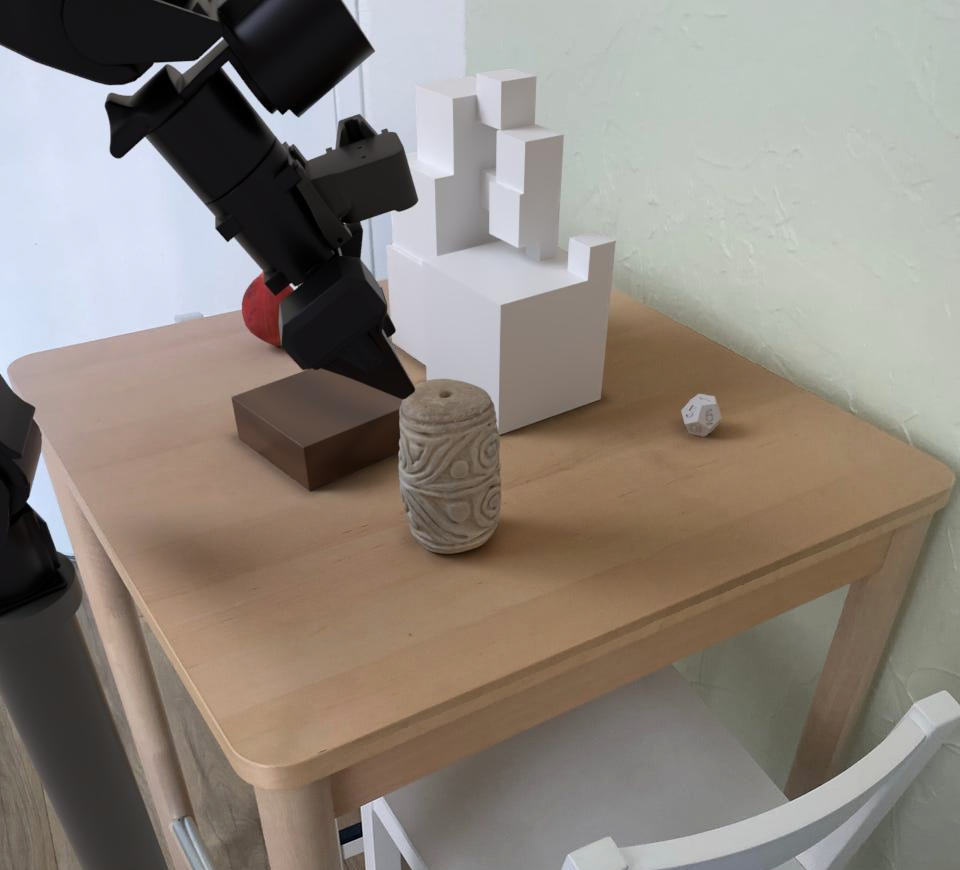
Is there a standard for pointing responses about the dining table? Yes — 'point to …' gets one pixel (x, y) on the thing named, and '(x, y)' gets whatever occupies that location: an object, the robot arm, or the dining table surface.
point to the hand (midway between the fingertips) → (399, 363)
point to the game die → (701, 415)
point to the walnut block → (318, 425)
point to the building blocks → (497, 255)
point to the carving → (450, 465)
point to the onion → (263, 310)
